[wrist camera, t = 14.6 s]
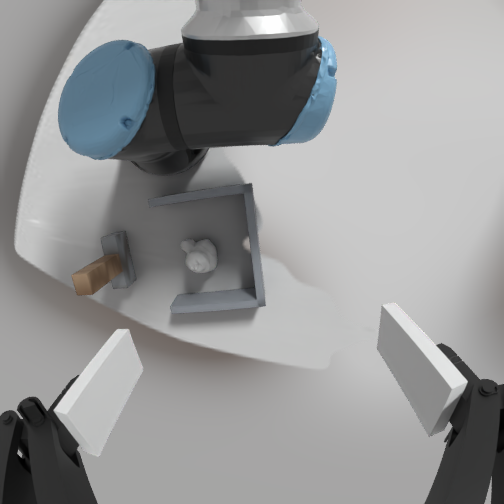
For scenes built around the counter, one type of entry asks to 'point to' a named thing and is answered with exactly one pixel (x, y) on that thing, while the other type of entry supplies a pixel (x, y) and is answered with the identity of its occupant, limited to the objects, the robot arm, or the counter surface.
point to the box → (257, 294)
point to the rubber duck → (200, 255)
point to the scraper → (107, 267)
